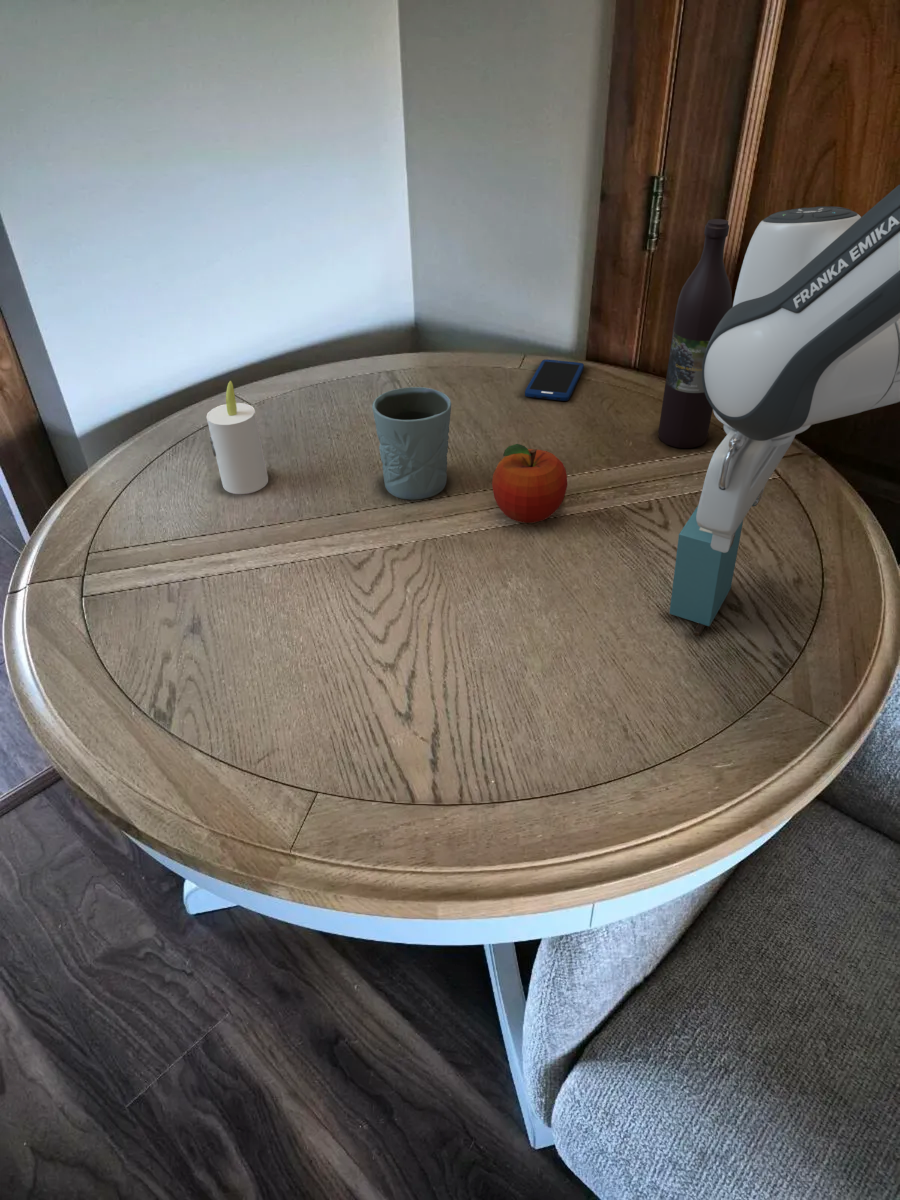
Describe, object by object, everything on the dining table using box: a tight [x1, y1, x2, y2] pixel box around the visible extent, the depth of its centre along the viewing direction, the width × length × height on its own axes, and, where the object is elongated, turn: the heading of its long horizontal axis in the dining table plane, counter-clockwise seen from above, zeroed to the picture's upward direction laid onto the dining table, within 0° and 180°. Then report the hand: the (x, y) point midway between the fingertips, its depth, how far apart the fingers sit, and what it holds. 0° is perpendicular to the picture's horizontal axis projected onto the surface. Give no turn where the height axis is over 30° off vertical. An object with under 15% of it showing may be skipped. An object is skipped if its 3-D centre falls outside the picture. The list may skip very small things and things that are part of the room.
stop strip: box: [692, 623, 706, 638], centre depth 91 cm, size 1×10×1 cm, turn 147°
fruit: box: [491, 443, 568, 524], centre depth 104 cm, size 10×10×10 cm
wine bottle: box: [657, 218, 733, 449], centre depth 112 cm, size 7×7×30 cm
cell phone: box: [524, 359, 585, 402], centre depth 137 cm, size 7×14×1 cm, turn 162°
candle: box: [206, 380, 269, 495], centre depth 110 cm, size 6×6×15 cm
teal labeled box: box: [669, 505, 744, 627], centre depth 87 cm, size 11×7×4 cm
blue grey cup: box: [371, 386, 452, 501], centre depth 110 cm, size 10×10×12 cm
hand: (736, 524), depth 84 cm, fingers open, 8 cm apart
